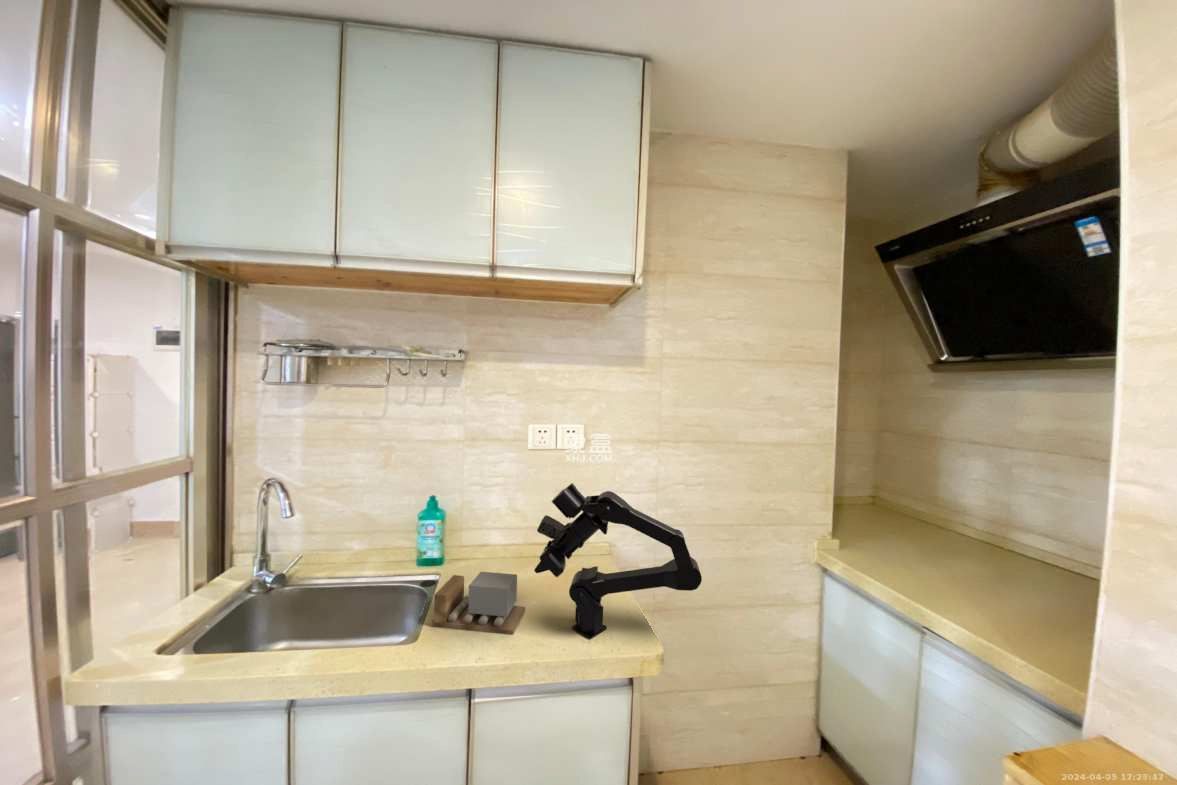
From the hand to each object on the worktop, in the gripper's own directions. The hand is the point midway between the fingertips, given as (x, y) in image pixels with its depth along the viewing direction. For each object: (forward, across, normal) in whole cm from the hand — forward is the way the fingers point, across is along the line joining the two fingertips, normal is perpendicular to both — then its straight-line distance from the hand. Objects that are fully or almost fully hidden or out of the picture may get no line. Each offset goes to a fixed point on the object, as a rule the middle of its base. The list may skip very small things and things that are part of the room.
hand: (535, 571), depth 112 cm
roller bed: (+20, 0, -1) cm, 20 cm away
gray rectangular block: (+15, 0, -1) cm, 15 cm away
